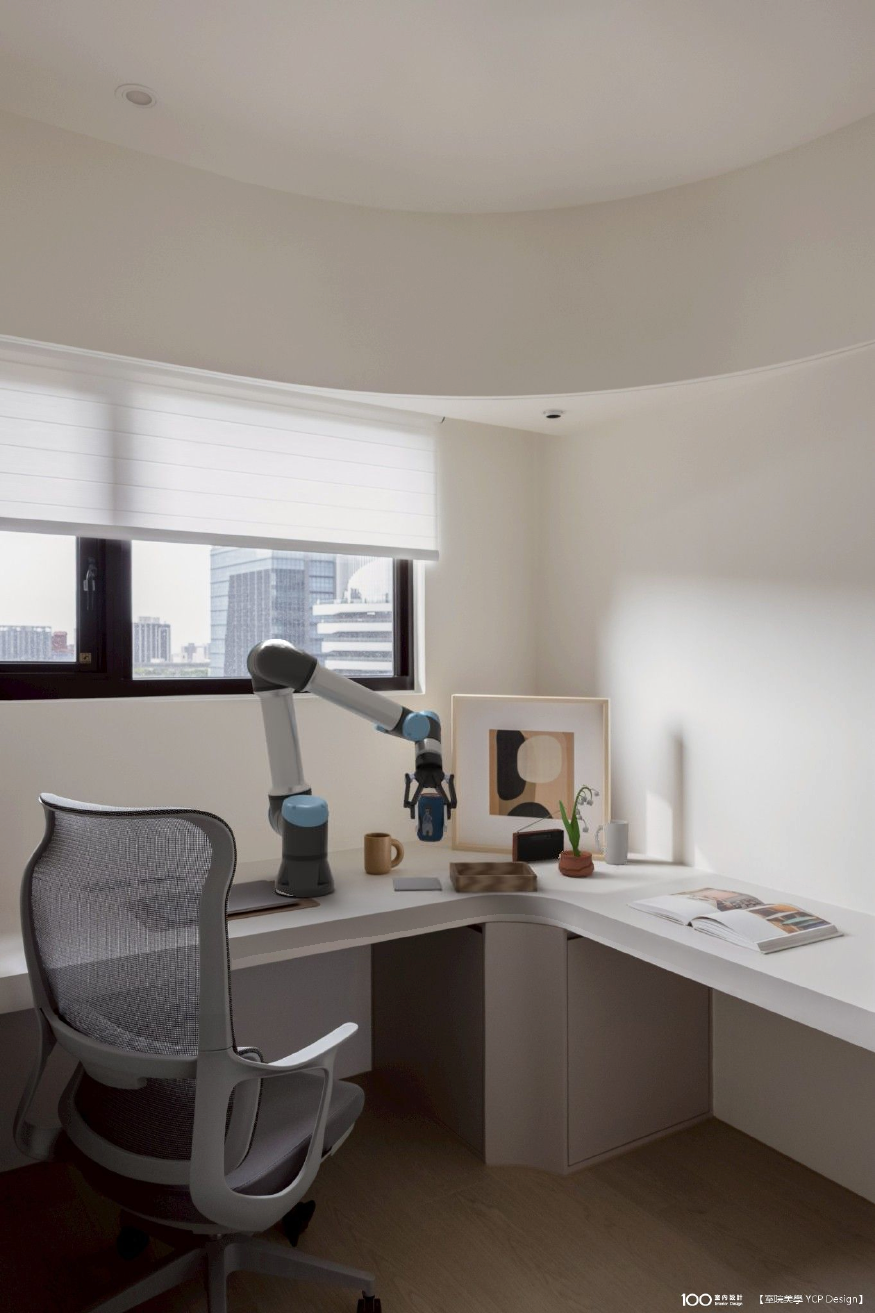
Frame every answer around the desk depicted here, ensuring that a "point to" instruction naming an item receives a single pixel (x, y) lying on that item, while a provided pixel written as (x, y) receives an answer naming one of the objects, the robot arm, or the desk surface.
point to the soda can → (430, 817)
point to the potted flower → (576, 841)
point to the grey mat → (416, 883)
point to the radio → (537, 844)
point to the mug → (614, 841)
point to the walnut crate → (492, 877)
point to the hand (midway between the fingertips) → (431, 828)
